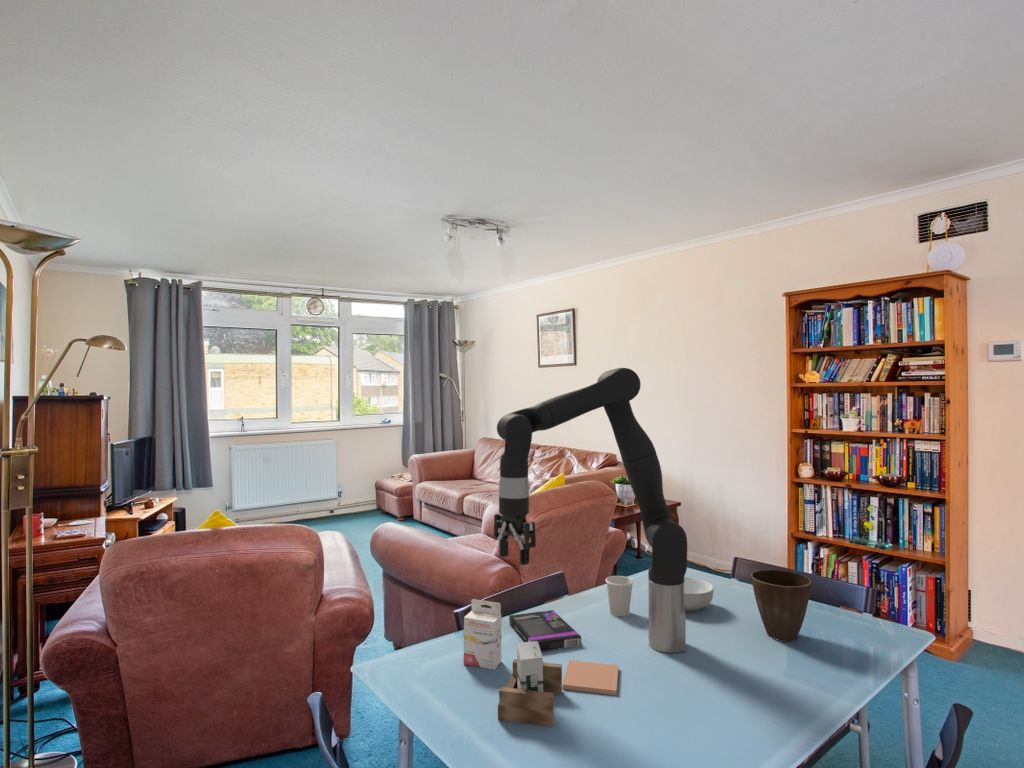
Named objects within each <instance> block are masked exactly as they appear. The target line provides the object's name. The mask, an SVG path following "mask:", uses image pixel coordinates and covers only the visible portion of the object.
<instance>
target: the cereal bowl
mask: <svg viewBox="0 0 1024 768" xmlns="http://www.w3.org/2000/svg"><path fill="white" fill-rule="evenodd" d="M713 586H714V585H712V584H711V583H710V582H708V581H706V580H703V579H700V578H696V577H690V576H684V602H685V612H693V611H698V609H702V608H704V607H707V606H709V605H710V604H711V602H712V600H713V597H714V587H713Z"/></svg>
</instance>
